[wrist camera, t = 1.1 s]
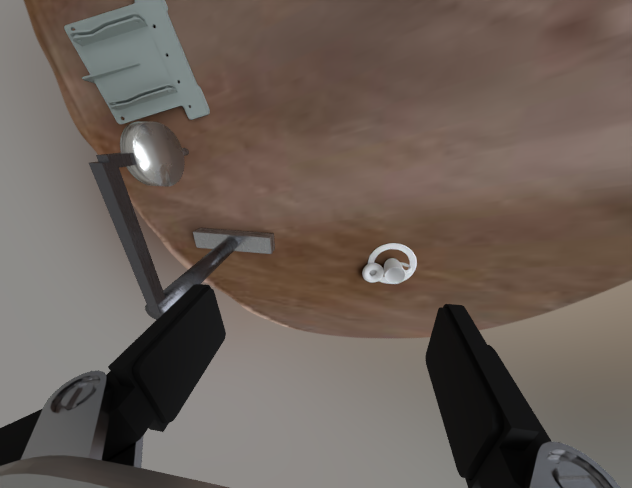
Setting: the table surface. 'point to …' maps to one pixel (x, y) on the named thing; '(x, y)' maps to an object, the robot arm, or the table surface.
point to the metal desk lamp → (151, 169)
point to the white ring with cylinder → (389, 266)
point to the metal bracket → (137, 61)
